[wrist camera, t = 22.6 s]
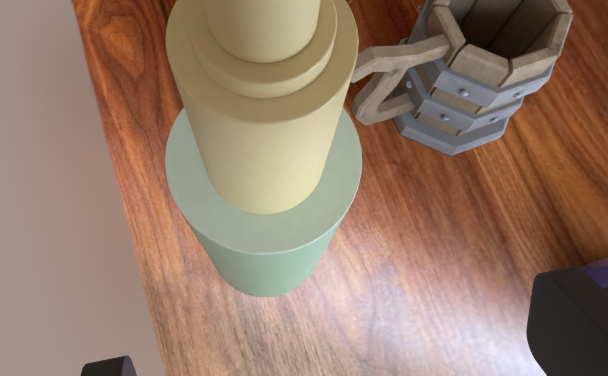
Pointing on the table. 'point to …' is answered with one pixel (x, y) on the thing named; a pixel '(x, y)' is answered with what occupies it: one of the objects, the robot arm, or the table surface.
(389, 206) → the table surface
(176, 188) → the green stand
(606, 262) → the blue cup
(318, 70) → the cream bottle
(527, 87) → the tankard
